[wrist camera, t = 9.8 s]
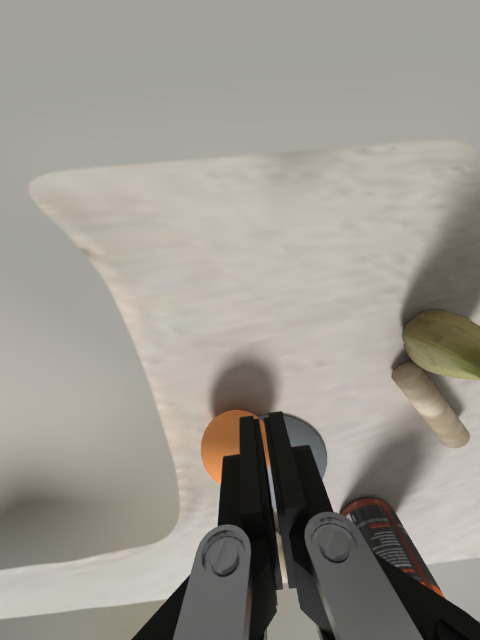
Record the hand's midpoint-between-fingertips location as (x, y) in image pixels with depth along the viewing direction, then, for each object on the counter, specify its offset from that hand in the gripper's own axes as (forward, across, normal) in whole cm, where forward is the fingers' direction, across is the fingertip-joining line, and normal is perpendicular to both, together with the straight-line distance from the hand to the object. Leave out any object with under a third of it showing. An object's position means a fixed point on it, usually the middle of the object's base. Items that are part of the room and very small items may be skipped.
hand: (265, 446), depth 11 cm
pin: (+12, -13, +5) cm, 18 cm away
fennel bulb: (+14, -15, +2) cm, 20 cm away
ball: (+10, +3, +9) cm, 14 cm away
